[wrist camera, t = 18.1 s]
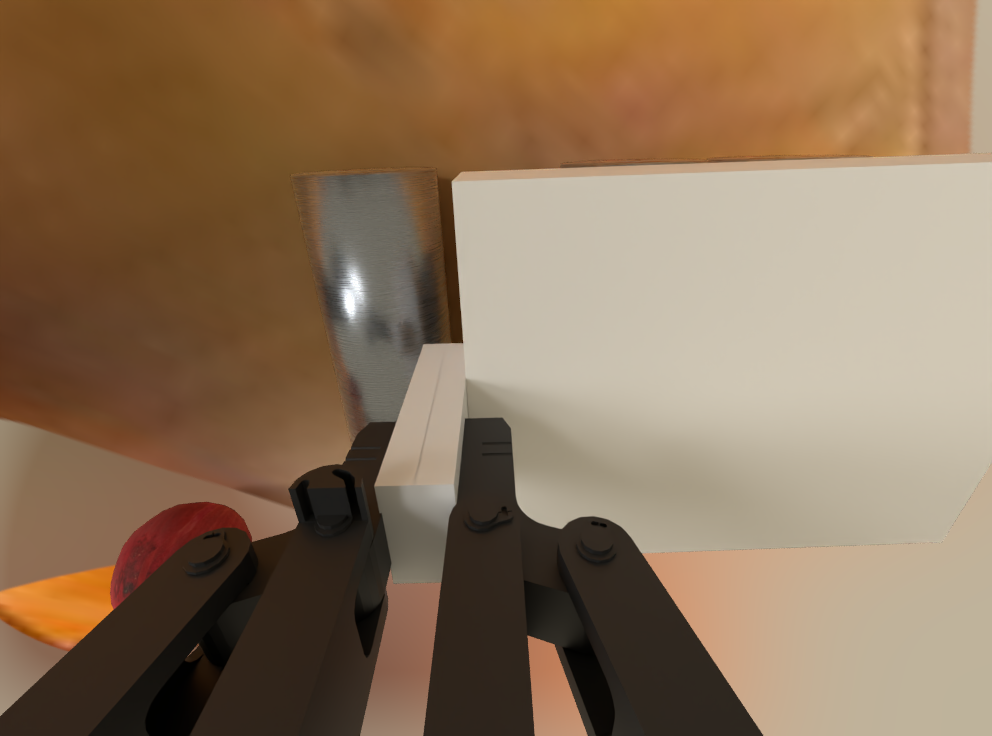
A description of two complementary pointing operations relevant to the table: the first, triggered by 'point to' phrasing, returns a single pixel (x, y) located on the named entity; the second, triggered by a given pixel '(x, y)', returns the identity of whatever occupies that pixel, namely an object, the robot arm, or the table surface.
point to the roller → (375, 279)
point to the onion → (166, 542)
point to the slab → (736, 345)
